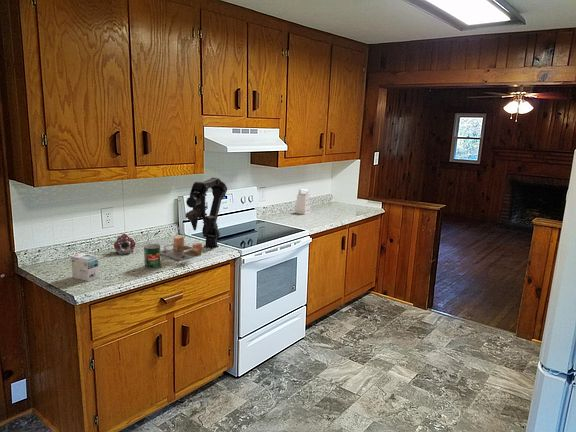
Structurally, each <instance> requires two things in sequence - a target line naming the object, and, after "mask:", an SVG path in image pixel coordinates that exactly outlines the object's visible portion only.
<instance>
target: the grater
mask: <svg viewBox="0 0 576 432" xmlns="http://www.w3.org/2000/svg"><path fill="white" fill-rule="evenodd" d="M302 190H303V191H305V193H302ZM295 201H296V202H295V205H294V206H295V207H294V214H298V215H299V214H300V215H307V214H311V212H312V211H311V199H310V194H309V190H308V189H305V188H301V189H299V190H298V194H297V195H296V200H295Z"/></svg>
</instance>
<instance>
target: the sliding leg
mask: <svg viewBox="0 0 576 432" xmlns="http://www.w3.org/2000/svg"><path fill="white" fill-rule="evenodd" d="M184 239H185V238H184V236H177V237H173V243H169V244H165V245H163V250H164V251H166V249H167V248H168V247H173V245H174V249H175V251H178V245H181V244H182V245H185V244H184V243H185V241H184ZM174 249H173V250H174Z"/></svg>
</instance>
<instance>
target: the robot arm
mask: <svg viewBox="0 0 576 432" xmlns="http://www.w3.org/2000/svg"><path fill="white" fill-rule="evenodd" d="M209 189H211V192H212V195H213V197H212V198H213V199H212V202H211V206H210V211H209V215H208V213H207V212H206V209H208V206H207V205H206V196H207V195H208V194H207V192H208V191H209ZM227 192H228V187H227V184H226V183H224V182H223V181H222V180H221V179H220V178H219V177H211V178H209V179H207V180H203V181H195V182H193V184H192V186H191V190H190V192H189V197H187V198H186V202H185V203H186V206H187V207H188V208H192V210H189V211H188V212H186V213H185V218H186V219H187V220H188V221H189V222H190V223H191V226H192V229H193V231H196V230H197V227H198V220H199V219H200V220H202V224H203V226H202V229H201V232H202V237H204V238H205V245H203V246H204V248H208V249H216V248H218V247H220V246H219V245H218V238H220V236H221V233H220V230H219V229H218V228H219V226H218V223H217V220H218V216H219V213H220V207H221V203H222V200H223V198H225V196H226V195H227Z"/></svg>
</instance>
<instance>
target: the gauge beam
mask: <svg viewBox="0 0 576 432" xmlns="http://www.w3.org/2000/svg"><path fill="white" fill-rule="evenodd" d="M172 249H173V251H174V250H175V249H174V245H172ZM202 250H203V243H201V242H196V243H192V246H188V245H185V244H184V245H182V244H181V245H178V250H177V252H180V253H181V252H182V254H183V256H185V255H186V254H187V255H192V256H196V257H199V256H202ZM175 251H176V250H175Z"/></svg>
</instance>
